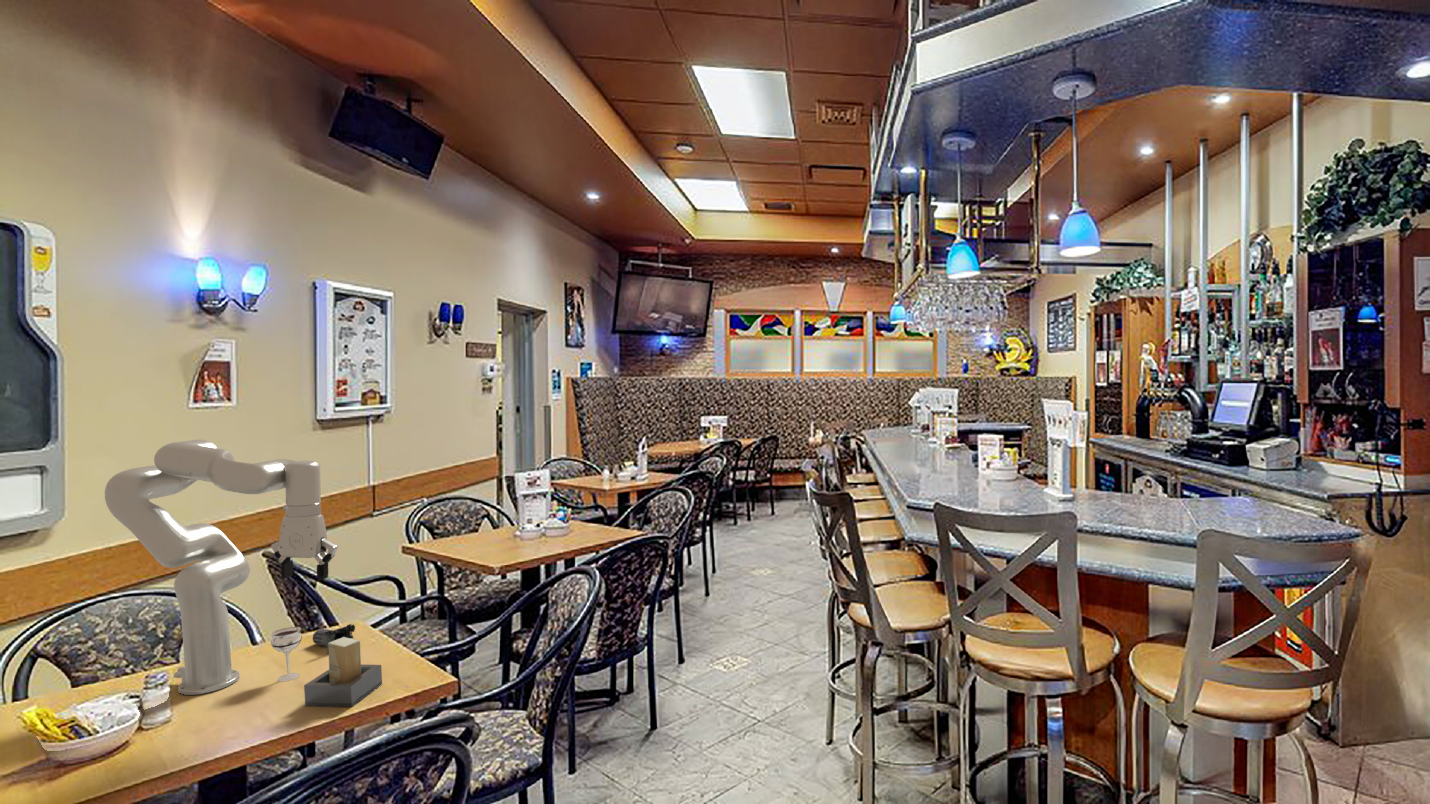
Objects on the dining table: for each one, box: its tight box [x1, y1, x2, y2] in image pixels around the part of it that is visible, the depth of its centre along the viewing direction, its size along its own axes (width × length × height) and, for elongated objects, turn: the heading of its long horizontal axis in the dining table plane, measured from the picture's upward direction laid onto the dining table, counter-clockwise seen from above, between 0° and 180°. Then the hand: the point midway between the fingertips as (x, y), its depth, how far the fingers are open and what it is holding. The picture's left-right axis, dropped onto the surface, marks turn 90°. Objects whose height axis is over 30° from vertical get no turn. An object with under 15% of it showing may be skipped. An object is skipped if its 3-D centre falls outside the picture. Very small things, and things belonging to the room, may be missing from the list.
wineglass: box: [270, 626, 303, 682], centre depth 177 cm, size 7×7×12 cm
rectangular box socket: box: [303, 664, 383, 708], centre depth 166 cm, size 12×12×5 cm
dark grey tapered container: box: [312, 623, 356, 655], centre depth 197 cm, size 9×8×12 cm
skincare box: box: [328, 637, 362, 683], centre depth 166 cm, size 6×4×12 cm
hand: (304, 578), depth 172 cm, fingers open, 9 cm apart
